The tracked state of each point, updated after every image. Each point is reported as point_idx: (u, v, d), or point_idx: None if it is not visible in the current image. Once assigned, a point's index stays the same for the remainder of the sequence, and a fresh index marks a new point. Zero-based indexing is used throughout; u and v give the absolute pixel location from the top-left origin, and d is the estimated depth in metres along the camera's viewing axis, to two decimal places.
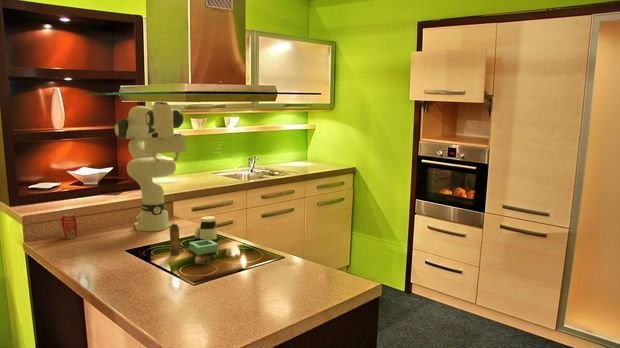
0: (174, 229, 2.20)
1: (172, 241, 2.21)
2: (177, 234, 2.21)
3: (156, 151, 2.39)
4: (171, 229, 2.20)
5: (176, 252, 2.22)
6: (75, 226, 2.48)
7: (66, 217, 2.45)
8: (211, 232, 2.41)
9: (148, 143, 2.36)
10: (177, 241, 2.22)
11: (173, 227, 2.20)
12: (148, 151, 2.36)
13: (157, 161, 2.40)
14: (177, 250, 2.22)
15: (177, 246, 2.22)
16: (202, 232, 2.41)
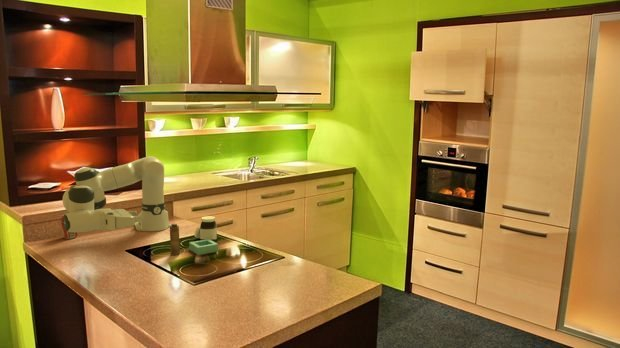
0: (174, 229, 2.20)
1: (172, 241, 2.21)
2: (177, 234, 2.21)
3: (130, 215, 2.06)
4: (171, 229, 2.20)
5: (176, 252, 2.22)
6: None
7: None
8: (211, 232, 2.41)
9: (122, 216, 2.00)
10: (177, 241, 2.22)
11: (173, 227, 2.20)
12: (131, 216, 2.02)
13: (141, 216, 2.09)
14: (177, 250, 2.22)
15: (177, 246, 2.22)
16: (202, 232, 2.41)
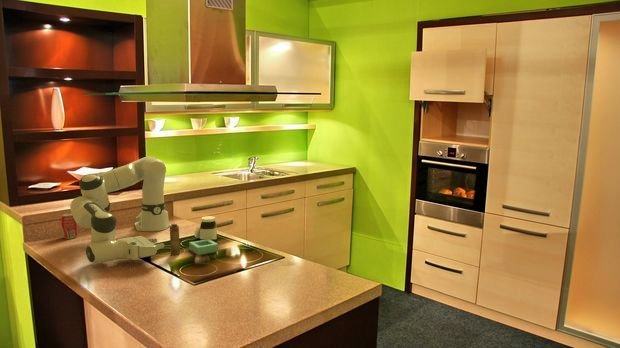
0: (174, 229, 2.20)
1: (172, 241, 2.21)
2: (177, 234, 2.21)
3: (151, 243, 2.11)
4: (171, 229, 2.20)
5: (176, 252, 2.22)
6: (75, 226, 2.48)
7: (66, 217, 2.45)
8: (211, 232, 2.41)
9: (145, 246, 2.05)
10: (177, 241, 2.22)
11: (173, 227, 2.20)
12: (153, 245, 2.08)
13: (162, 243, 2.14)
14: (177, 250, 2.22)
15: (177, 246, 2.22)
16: (202, 232, 2.41)
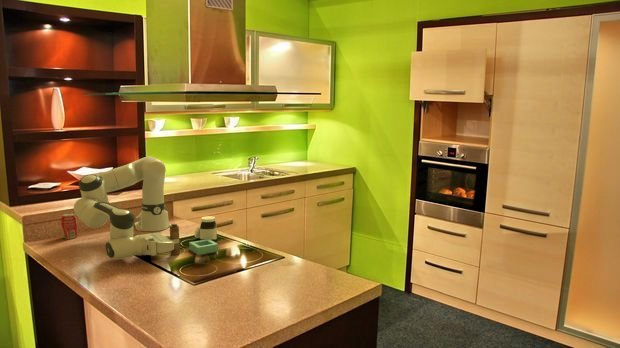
0: (174, 229, 2.20)
1: None
2: (177, 234, 2.21)
3: (168, 239, 2.16)
4: (171, 229, 2.20)
5: (176, 252, 2.22)
6: (75, 226, 2.48)
7: (66, 217, 2.45)
8: (211, 232, 2.41)
9: (163, 242, 2.10)
10: None
11: (173, 227, 2.20)
12: (171, 241, 2.12)
13: (177, 238, 2.21)
14: (177, 250, 2.22)
15: (177, 246, 2.22)
16: (202, 232, 2.41)
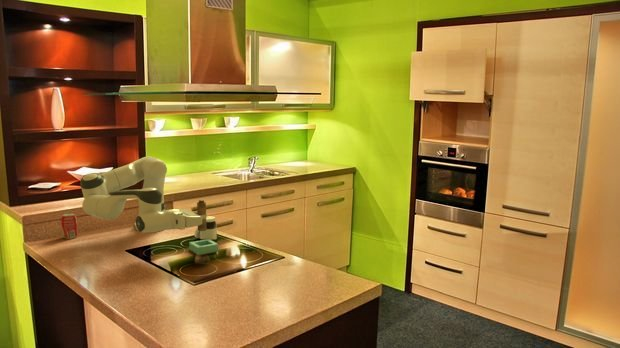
0: (201, 205, 2.24)
1: None
2: (204, 210, 2.25)
3: (196, 214, 2.20)
4: (198, 205, 2.24)
5: (203, 227, 2.26)
6: (75, 226, 2.48)
7: (66, 217, 2.45)
8: (211, 232, 2.41)
9: (191, 216, 2.14)
10: None
11: (200, 203, 2.25)
12: (199, 216, 2.16)
13: (204, 214, 2.25)
14: (204, 226, 2.26)
15: (204, 222, 2.26)
16: (202, 232, 2.41)
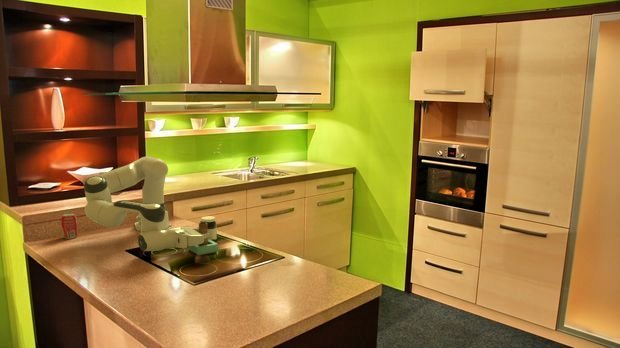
0: (203, 226, 2.26)
1: None
2: (206, 231, 2.27)
3: (198, 233, 2.21)
4: (200, 226, 2.26)
5: None
6: (75, 226, 2.48)
7: (66, 217, 2.45)
8: (211, 232, 2.41)
9: (193, 235, 2.16)
10: (206, 238, 2.28)
11: (202, 224, 2.26)
12: (201, 235, 2.18)
13: (208, 233, 2.25)
14: None
15: (206, 242, 2.28)
16: None
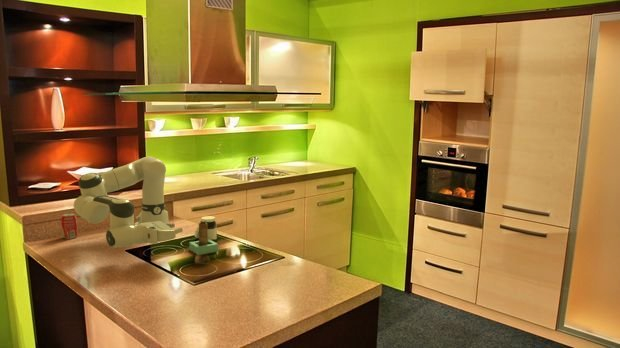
0: (203, 226, 2.26)
1: (201, 238, 2.27)
2: (206, 231, 2.27)
3: (169, 228, 2.13)
4: (200, 226, 2.26)
5: None
6: (75, 226, 2.48)
7: (66, 217, 2.45)
8: (211, 232, 2.41)
9: (164, 230, 2.08)
10: (206, 238, 2.28)
11: (202, 224, 2.26)
12: (172, 230, 2.10)
13: (180, 228, 2.16)
14: None
15: (206, 242, 2.28)
16: None
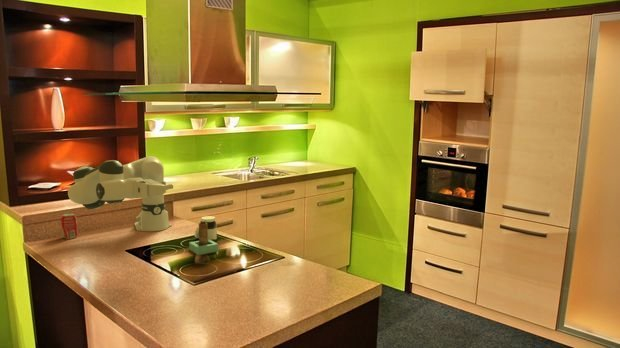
0: (203, 226, 2.26)
1: (201, 238, 2.27)
2: (206, 231, 2.27)
3: (160, 183, 2.12)
4: (200, 226, 2.26)
5: None
6: (75, 226, 2.48)
7: (66, 217, 2.45)
8: (211, 232, 2.41)
9: (154, 184, 2.07)
10: (206, 238, 2.28)
11: (202, 224, 2.26)
12: (163, 184, 2.09)
13: (171, 184, 2.16)
14: None
15: (206, 242, 2.28)
16: None
